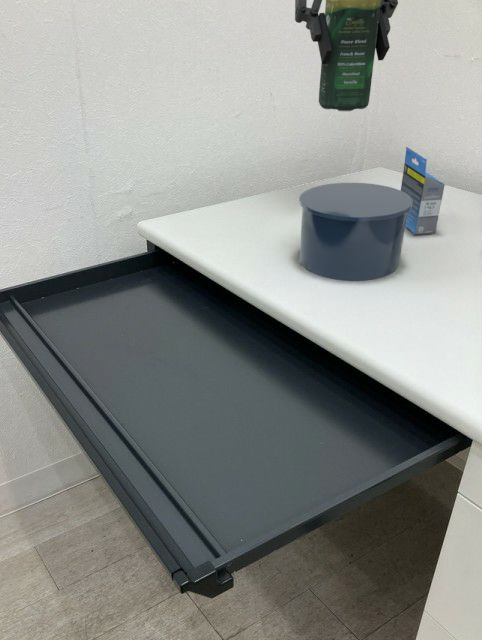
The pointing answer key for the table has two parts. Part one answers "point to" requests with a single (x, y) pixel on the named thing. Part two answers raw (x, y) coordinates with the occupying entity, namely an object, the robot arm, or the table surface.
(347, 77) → the coffee jar
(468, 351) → the table surface
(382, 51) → the robot arm
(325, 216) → the pot
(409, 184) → the tape cartridge
